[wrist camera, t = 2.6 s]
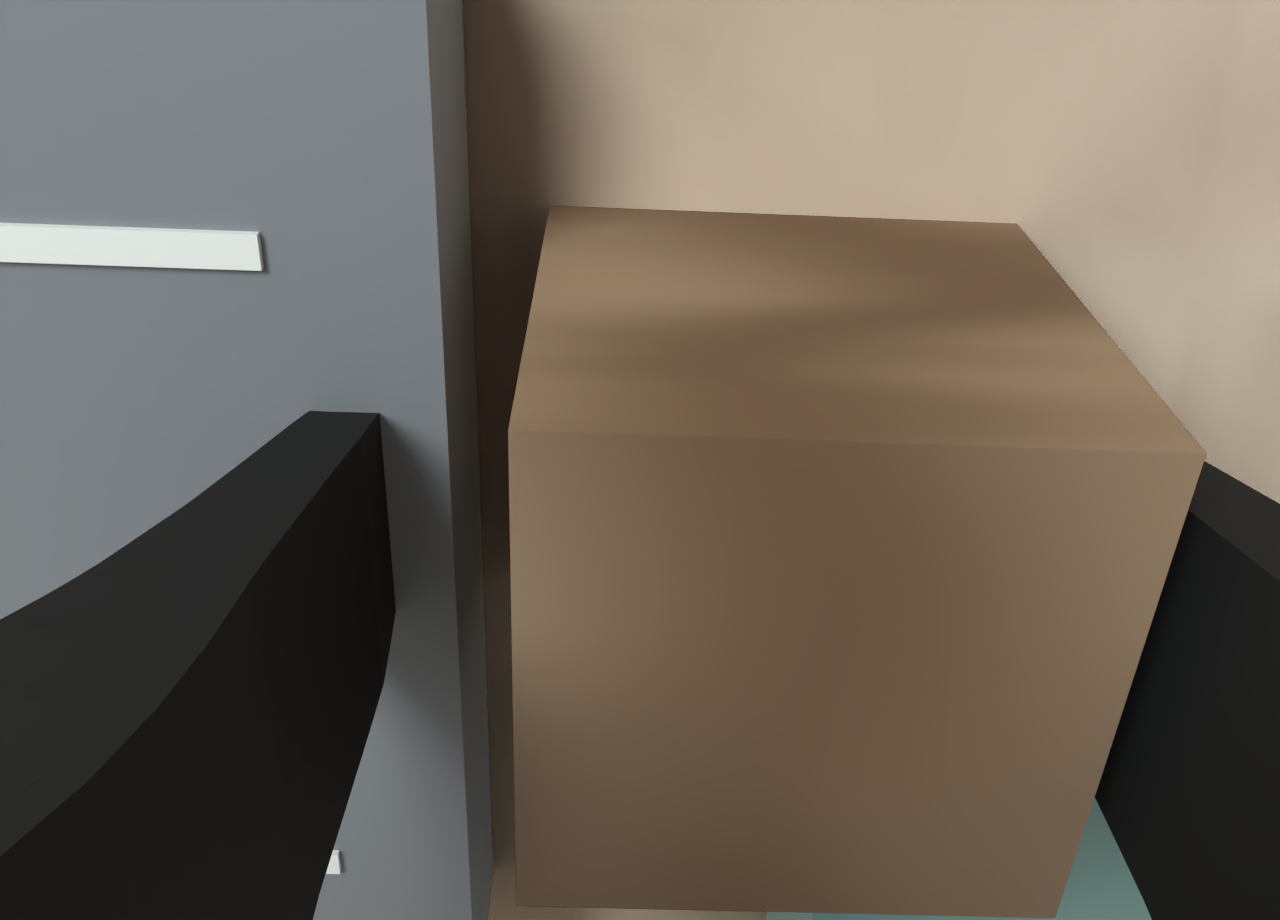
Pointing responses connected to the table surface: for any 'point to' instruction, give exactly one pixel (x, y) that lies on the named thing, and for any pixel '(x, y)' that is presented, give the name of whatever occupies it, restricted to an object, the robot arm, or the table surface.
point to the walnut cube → (822, 564)
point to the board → (258, 341)
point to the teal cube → (1093, 897)
